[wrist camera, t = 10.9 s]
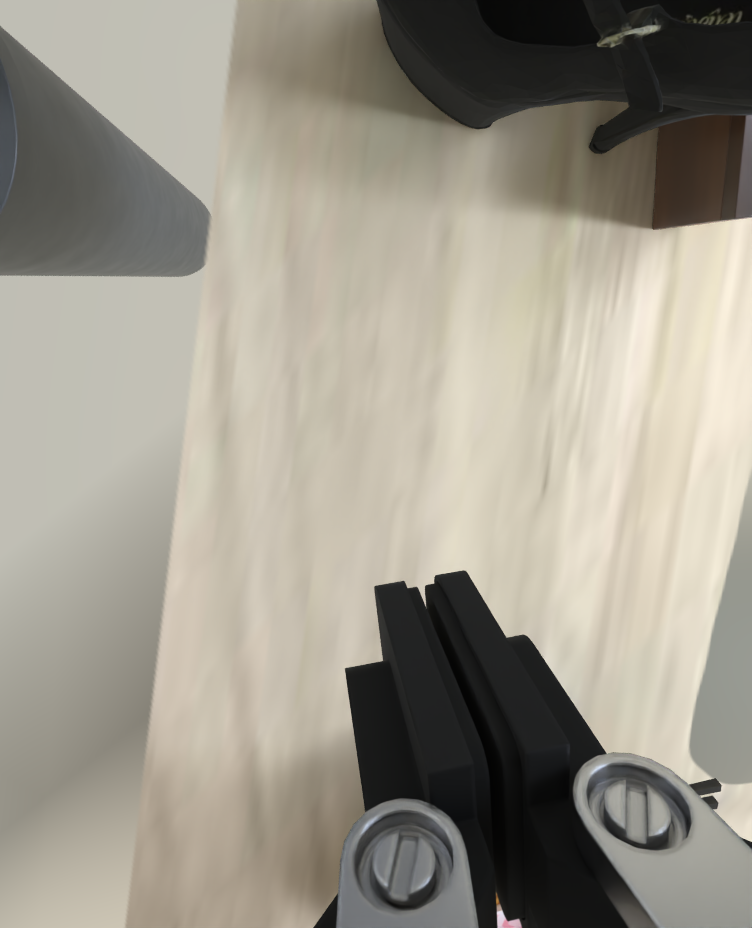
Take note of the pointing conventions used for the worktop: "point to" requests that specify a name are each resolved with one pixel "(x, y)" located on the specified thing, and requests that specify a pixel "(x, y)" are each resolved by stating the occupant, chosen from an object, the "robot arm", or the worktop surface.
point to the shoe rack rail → (703, 171)
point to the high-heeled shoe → (576, 58)
